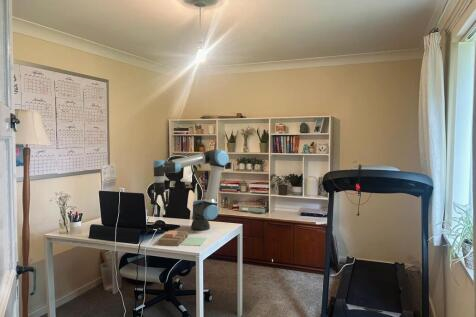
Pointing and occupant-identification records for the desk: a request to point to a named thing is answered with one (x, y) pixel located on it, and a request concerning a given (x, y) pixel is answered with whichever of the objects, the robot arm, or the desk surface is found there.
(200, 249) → the desk surface
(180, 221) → the desk surface
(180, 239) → the deck
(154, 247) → the desk surface
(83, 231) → the desk surface
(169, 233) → the card
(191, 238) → the mat
